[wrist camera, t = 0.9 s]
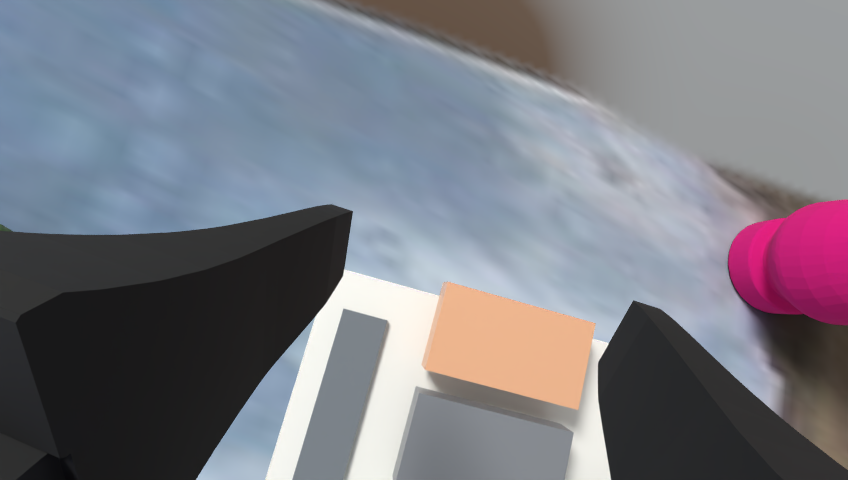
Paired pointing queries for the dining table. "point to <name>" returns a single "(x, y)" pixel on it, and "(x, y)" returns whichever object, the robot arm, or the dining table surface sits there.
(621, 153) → the dining table surface
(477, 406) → the key charcoal
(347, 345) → the white flat slab
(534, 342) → the key terracotta
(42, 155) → the dining table surface
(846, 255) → the pepper mill
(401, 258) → the dining table surface
